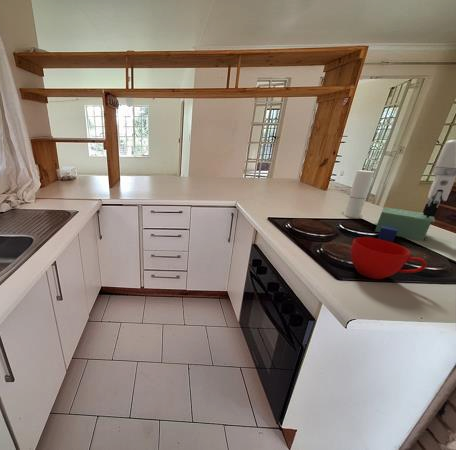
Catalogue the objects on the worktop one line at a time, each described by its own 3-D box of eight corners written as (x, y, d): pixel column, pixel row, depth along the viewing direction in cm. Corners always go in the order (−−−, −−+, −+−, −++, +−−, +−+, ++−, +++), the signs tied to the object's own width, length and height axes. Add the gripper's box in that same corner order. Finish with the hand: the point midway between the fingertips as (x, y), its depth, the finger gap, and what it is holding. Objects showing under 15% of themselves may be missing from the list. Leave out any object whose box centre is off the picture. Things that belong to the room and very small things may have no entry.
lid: (432, 216, 105) (437, 204, 103) (434, 222, 97) (439, 210, 95) (383, 208, 116) (387, 197, 114) (381, 213, 108) (385, 202, 106)
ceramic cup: (417, 297, 65) (433, 265, 61) (342, 273, 75) (351, 245, 72) (414, 278, 73) (427, 249, 70) (347, 259, 84) (355, 234, 81)
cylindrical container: (358, 215, 135) (373, 170, 126) (360, 218, 129) (375, 172, 120) (342, 213, 138) (356, 169, 129) (344, 216, 132) (358, 171, 124)
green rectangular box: (421, 233, 109) (429, 215, 106) (422, 241, 101) (431, 222, 97) (377, 225, 119) (383, 208, 116) (374, 231, 111) (381, 213, 108)
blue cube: (393, 238, 103) (397, 228, 101) (393, 241, 100) (397, 231, 98) (378, 235, 106) (382, 225, 105) (377, 238, 103) (381, 227, 101)
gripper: (464, 175, 87) (442, 221, 94) (458, 171, 99) (439, 212, 105) (434, 172, 92) (415, 216, 99) (432, 169, 104) (415, 208, 110)
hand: (428, 214), depth 102 cm, fingers closed on lid, 5 cm apart
